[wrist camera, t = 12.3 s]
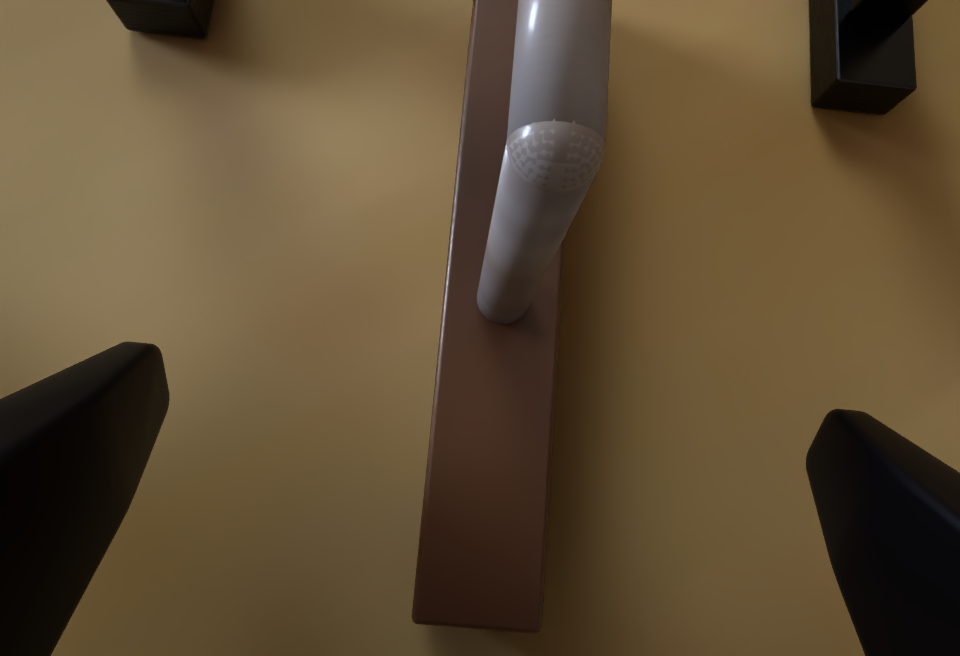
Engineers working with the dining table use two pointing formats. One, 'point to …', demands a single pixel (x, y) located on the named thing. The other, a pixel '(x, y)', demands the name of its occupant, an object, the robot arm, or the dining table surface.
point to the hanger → (507, 306)
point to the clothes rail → (833, 45)
